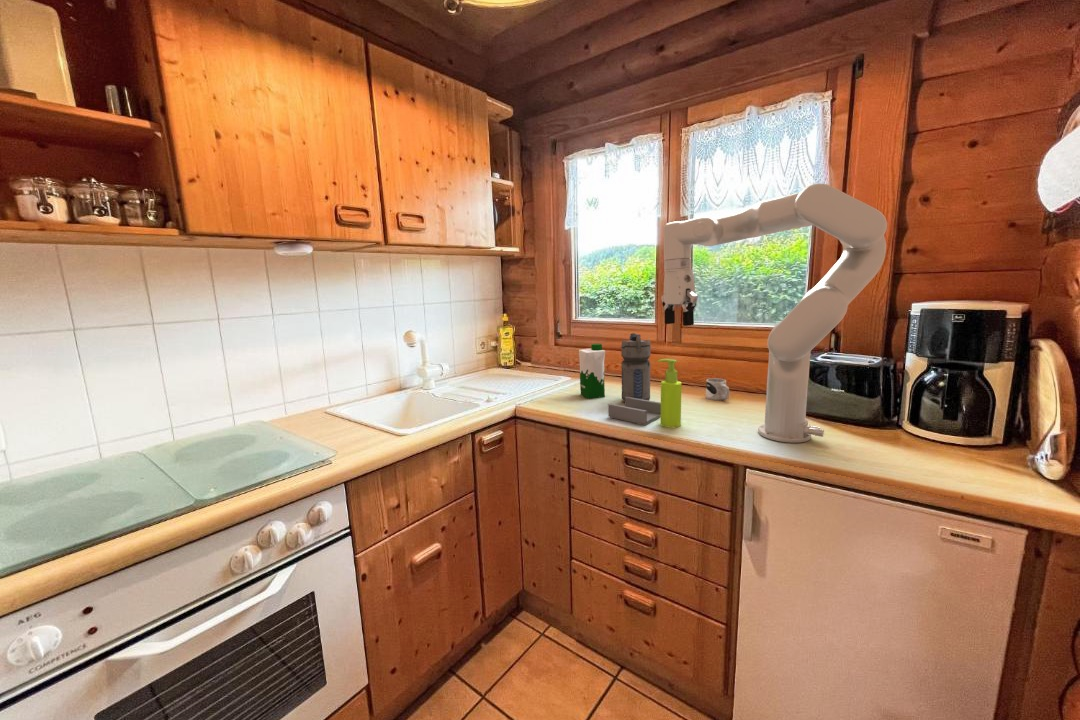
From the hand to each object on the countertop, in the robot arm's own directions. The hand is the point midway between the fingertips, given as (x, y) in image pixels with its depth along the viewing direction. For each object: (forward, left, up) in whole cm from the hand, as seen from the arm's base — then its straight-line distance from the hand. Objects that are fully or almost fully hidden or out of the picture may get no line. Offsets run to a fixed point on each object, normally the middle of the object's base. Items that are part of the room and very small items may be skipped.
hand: (678, 324), depth 127 cm
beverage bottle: (+22, -12, -30) cm, 39 cm away
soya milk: (+39, -9, -30) cm, 50 cm away
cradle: (+12, +4, -30) cm, 33 cm away
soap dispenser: (+1, +4, -30) cm, 30 cm away
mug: (-1, -31, -30) cm, 44 cm away
